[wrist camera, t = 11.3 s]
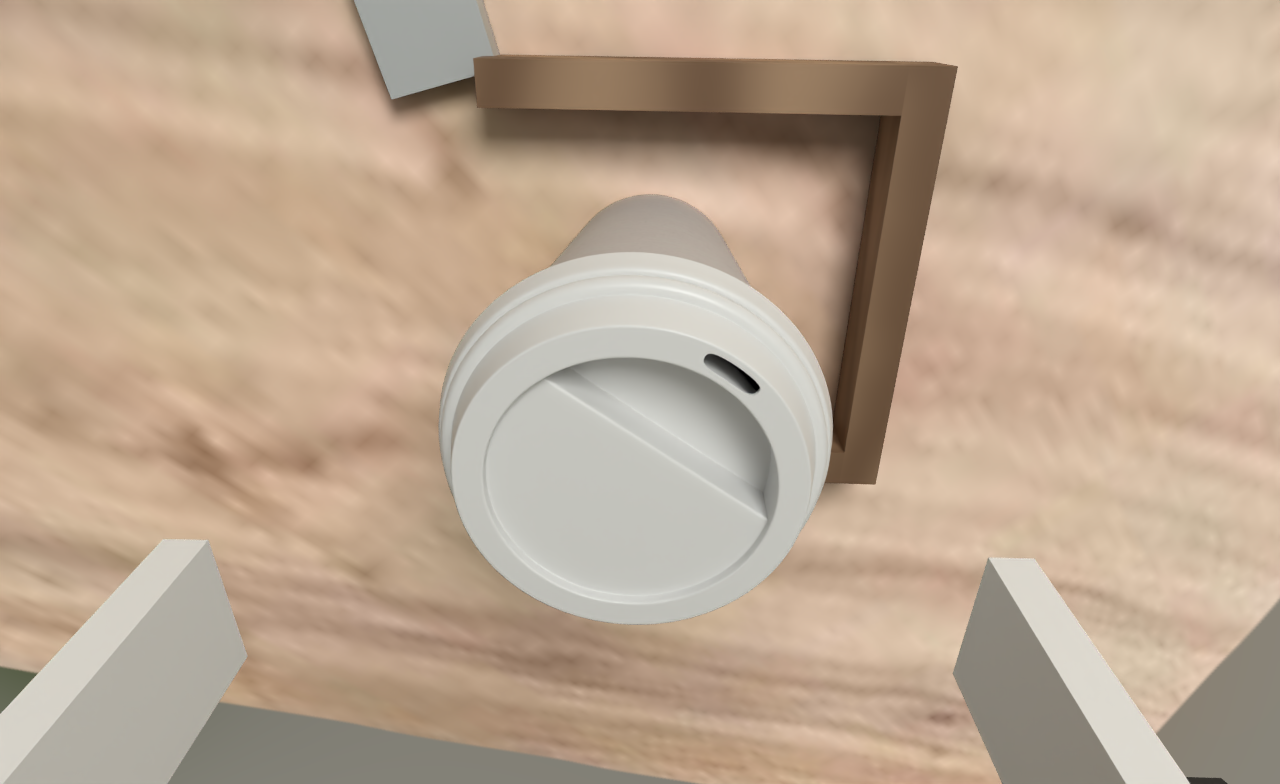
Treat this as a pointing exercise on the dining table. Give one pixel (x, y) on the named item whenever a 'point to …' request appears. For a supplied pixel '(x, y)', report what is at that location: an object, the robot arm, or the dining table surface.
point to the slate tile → (426, 40)
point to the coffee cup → (635, 423)
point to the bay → (887, 88)
